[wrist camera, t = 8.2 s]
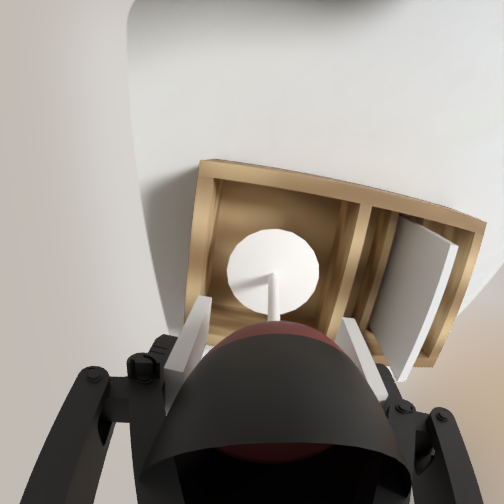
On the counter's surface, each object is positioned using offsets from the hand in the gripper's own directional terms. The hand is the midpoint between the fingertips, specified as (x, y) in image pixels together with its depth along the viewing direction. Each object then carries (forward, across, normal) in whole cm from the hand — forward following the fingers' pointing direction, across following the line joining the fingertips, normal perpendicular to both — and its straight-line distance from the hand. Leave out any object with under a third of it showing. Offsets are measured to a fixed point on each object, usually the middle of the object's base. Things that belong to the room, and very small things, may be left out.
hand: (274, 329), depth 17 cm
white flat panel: (+15, +12, 0) cm, 20 cm away
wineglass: (+9, 0, 0) cm, 9 cm away
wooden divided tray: (+15, +6, 0) cm, 17 cm away
